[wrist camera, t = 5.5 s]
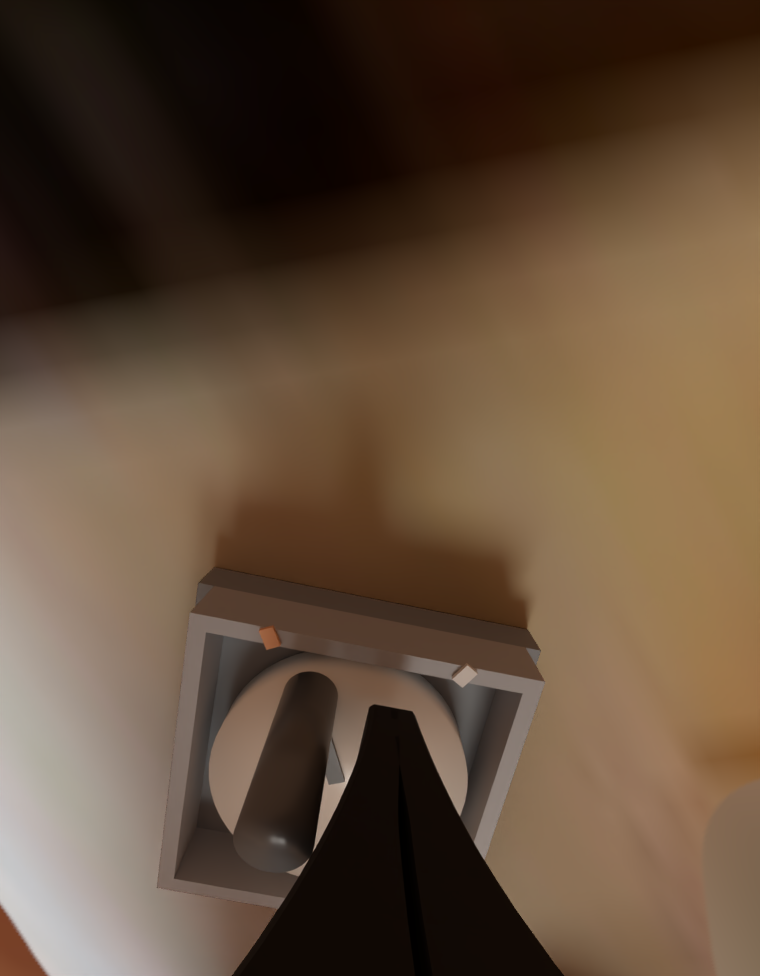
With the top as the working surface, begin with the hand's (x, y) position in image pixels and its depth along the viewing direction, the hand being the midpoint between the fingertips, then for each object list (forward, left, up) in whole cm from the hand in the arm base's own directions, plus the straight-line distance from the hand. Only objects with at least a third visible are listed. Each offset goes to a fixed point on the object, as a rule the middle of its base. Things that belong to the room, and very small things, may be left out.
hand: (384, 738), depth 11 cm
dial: (-3, +1, -2) cm, 4 cm away
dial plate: (-3, +1, -4) cm, 5 cm away
